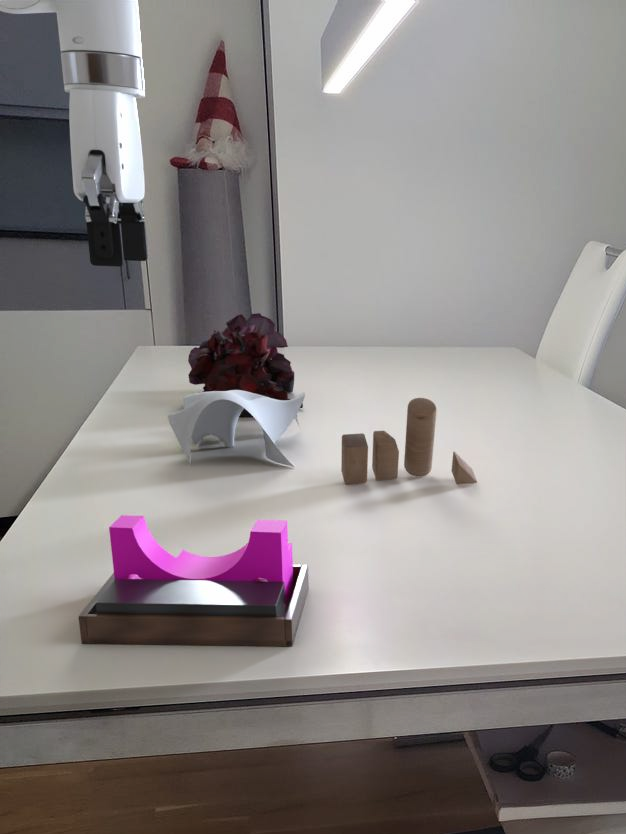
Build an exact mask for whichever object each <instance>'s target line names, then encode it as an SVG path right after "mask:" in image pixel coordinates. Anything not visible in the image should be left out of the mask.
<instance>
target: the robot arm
mask: <svg viewBox="0 0 626 834" xmlns="http://www.w3.org/2000/svg"><path fill="white" fill-rule="evenodd" d="M0 12H2V13H7V14H13V15H26V14H27V15H28V14H46V13H47V14H49V13H56V20H57V21H56V22H57V31H58V40H59V49H60V59H61V69H62V79H63V87H64V92H65V93H67V94H69V102H68V103H69V104H68V106H69V107H68V109H69V112H68V113H69V114H68V115H69V116H68V117H69V120H68V121H69V142H70V143H69V144H70V157H71V170H72V171H71V172H72V184H73V185H72V186H73V187H72V188H73V193H74V195H75V197H76V198H77V199H78V200H79V201H81V202H83V203H84V204H85V211H84V218H85V222H86V224H85V225H86V233H87V243H88V252H89V263H90V264H91V265H92V266H94V267H95V266H96V267H119V268H121V267H123V266H124V265H125V261H132V262H145V261H148V260H149V254H148V243H147V241H148V240H147V230H146V229H147V228H146V221H145V211H144V207H143V203H144V201H143V199H144V198H145V196H146V195H145V194H146V185H145V182H146V181H145V168H144V167H145V166H144V157H143V146H142V138H141V129H140V118H139V114H138V107H137V100H136V99H143V98H145V97H146V91H145V78H144V67H143V52H142V41H141V40H142V39H141V29H140V27H141V26H140V14H139V1H138V0H0Z"/></svg>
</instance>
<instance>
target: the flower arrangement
mask: <svg viewBox="0 0 626 834" xmlns="http://www.w3.org/2000/svg"><path fill="white" fill-rule="evenodd" d="M225 324H226V326H227V327H226V328H225V329H224V330H216V328H214V329H213V333H212V334H211V335H210V338H209V339H208V340H205V341H202V343H201V344H200V345H199V347H194V348H192V349H191V350H190V352H189V354H188V360H187V362H188V364H189V366H190V368H191V370H190V372H189V373H188V375H187V376H188V382H189V384H191V385H194V386H197V385H204V386H203V387H202V389H203V390H202V392H210V391H229V390H242V391H247V392H251V393H254V394H258V395H262V396H266V397H269V398H272V399H276V400H291V399H292V398H289V396H288V393H293V392H294V387H295V371H294V370H293V369H292V365H291V364H292V363H291V361H290V360H289V359H287V358H286V357H285V354H283V353H282V352H281V353H280V352H279V351H278V349H283V348H284V349H285V348H289V346H288V343H287V339H286V338H285V337H284V335H282V333H281V332H278V331H275V330H276V324H275V322H274V321H273V320H272V319H271V318H269V317H267V316H264V315H262V314H261V313H260V312H258V313H251V314H250V316H249V317H248V318H247V319H246V317H245V316H244V315H243V314H242V313H241V314H237V315H236V316H234V317H233V318H231V319H230V320H228V321H226V322H225ZM303 408H304V401H303V402H302V405H301V407H300V409H303ZM240 416H248V417H247V418H253V417H252V415H251V414H250V413H249V412H248V411H247V410H246V409H245V408H244V409H243V411H242V412H241V414H240ZM249 416H250V417H249Z"/></svg>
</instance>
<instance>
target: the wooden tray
mask: <svg viewBox="0 0 626 834" xmlns="http://www.w3.org/2000/svg"><path fill="white" fill-rule="evenodd" d="M139 577H140V576H139ZM140 578H141V577H140ZM293 587H294V588H293V590H292V593H291V595H290V598H289V600H288V602H287V605H286V607H285V585H284V582H271V581H215V580H159V579H115V578H114V572H113V573H112V574H111V575H110V577H109V578H108V579H107V580H106V582H105V583H104V584H103V585H102V586H101V588H100V589H99V590H98V591H97V593H96V594H95V595H94V596H93V598H92V599H91V600H90V601H89V602H88V603H87V605H86V606H85V607H84V608H83V610H82V611H81V612H80V613H79V615H78V616H77V617H78V627H79V633H80V641H81V642H80V643H81V644H91V645H92V644H93V645H94V644H98V645H99V644H101V645H103V644H104V645H106V644H107V645H112V644H113V645H167V646H168V645H173V646H174V645H175V646H176V645H177V646H179V645H180V646H236V647H237V646H241V647H243V646H245V647H247V646H248V647H249V646H250V647H251V646H253V647H293V645H294V642H295V639H296V635H297V631H298V628H299V625H300V622H301V617H302V614H303V610H304V607H305V603H306V600H307V597H308V592H309V589H310V587H309V565H308V564H293Z"/></svg>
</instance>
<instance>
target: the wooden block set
mask: <svg viewBox="0 0 626 834" xmlns="http://www.w3.org/2000/svg"><path fill="white" fill-rule="evenodd" d="M437 411H438V410H437V405H436V404H435V402H434V401H432V400H431V399H428V398H426V397H414V398H413V399H411V400H410V401H409V402H408V404H407V410H406V412H407V413H406V427H405V443H404V457H403V459H404V461H403V467H404V470H405V472H406V473H408V474H409V475H411V476H414V477H419V478H420V477H425V476H427V475H429V474H430V473H431V471H432V468H433V456H434V444H435V432H436V421H437ZM371 458H372V459H371V461H372V462H371V463H372V464H371V468H372V472H373V475H374V478H375V480H376V481H384V480H396V479H398V476H399V458H400V450H399V448H398V444H397V441H396V439H395V438H394V437H393V436H392V435H391V434H389V433H388V432H387V431H385V430H374V431H373V434H372V457H371ZM368 461H369V445H368V441H367V438H366V435H365V434H364V433H363V432H362V433H350V434H349V433H347V434H346V433H345V434H342V435H341V469H340V470H341V474H342V478H343V483H344V484H345V485H354V484H366V483H367V482H368V464H369V463H368ZM451 474H452V476H453V479H454V482H455V484H456V485H465V484H466V485H467V484H477V483H478V480H477V478H476V475H475V473H474V470H473V468H472V467H471V466H470V465H469V464H468V463H467V462H466V461H465V460H464V459H463V458H462V457H461V456H460V455H459V454H458V453H457V452H456V451H455V450H454V451H453V452H452V462H451Z"/></svg>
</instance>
